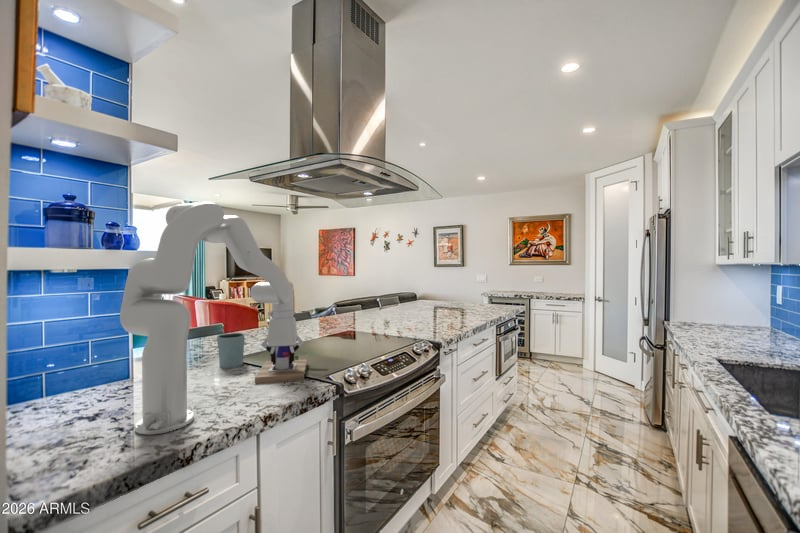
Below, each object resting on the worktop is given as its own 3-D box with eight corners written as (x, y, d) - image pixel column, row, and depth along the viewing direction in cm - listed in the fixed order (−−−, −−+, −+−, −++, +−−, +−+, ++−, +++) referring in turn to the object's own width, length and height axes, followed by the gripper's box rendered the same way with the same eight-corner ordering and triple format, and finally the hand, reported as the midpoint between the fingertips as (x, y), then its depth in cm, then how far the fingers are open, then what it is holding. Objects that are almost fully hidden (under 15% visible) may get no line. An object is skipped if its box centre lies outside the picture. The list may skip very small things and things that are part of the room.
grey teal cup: (238, 368, 139) (238, 337, 139) (211, 368, 139) (211, 337, 139) (248, 361, 149) (248, 332, 149) (224, 361, 149) (224, 332, 149)
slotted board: (303, 380, 125) (303, 373, 125) (254, 383, 122) (254, 376, 122) (307, 364, 145) (307, 358, 145) (265, 366, 142) (265, 360, 142)
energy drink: (287, 372, 130) (287, 340, 130) (273, 372, 131) (272, 339, 130) (292, 368, 136) (292, 337, 136) (278, 368, 136) (278, 336, 136)
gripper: (256, 316, 128) (256, 367, 128) (305, 315, 131) (305, 365, 131) (260, 314, 135) (260, 362, 135) (307, 312, 138) (307, 359, 138)
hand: (282, 363), depth 133 cm, fingers closed on energy drink, 5 cm apart
